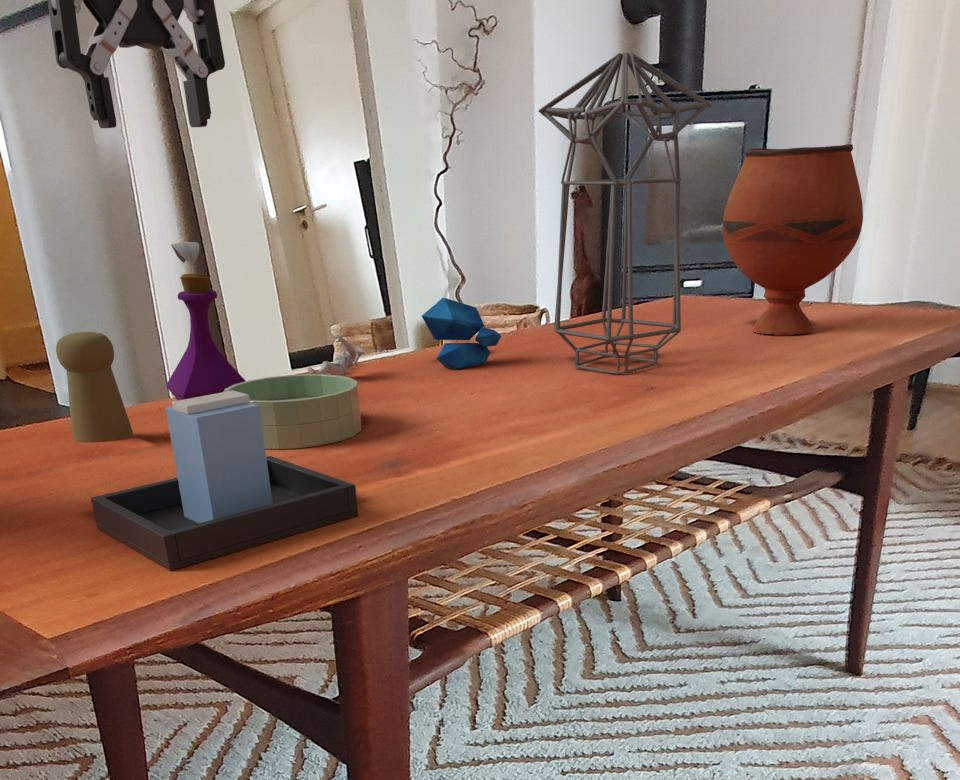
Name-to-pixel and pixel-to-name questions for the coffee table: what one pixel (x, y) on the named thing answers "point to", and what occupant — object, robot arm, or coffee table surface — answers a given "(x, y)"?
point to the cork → (92, 388)
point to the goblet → (792, 225)
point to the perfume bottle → (199, 338)
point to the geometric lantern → (573, 114)
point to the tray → (182, 542)
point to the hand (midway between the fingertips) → (154, 127)
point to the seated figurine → (340, 360)
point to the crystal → (459, 333)
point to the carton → (219, 455)
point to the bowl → (304, 409)
